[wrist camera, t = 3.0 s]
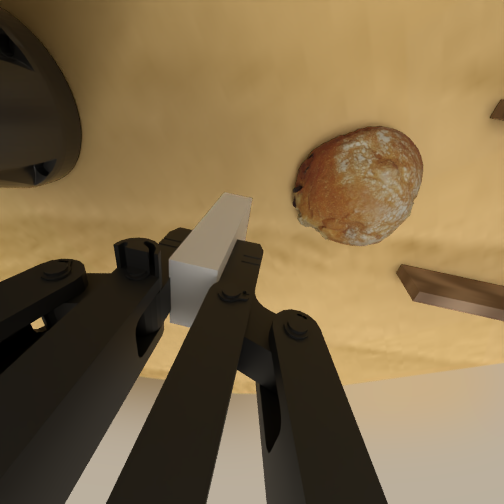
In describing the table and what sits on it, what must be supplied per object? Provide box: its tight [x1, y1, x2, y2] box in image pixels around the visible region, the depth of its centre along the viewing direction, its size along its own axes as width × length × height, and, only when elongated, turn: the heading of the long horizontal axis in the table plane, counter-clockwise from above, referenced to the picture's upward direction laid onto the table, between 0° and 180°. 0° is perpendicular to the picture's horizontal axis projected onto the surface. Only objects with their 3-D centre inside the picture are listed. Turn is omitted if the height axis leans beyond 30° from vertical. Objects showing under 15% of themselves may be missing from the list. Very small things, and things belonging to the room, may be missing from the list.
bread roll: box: [293, 126, 423, 246], centre depth 21 cm, size 10×10×8 cm
